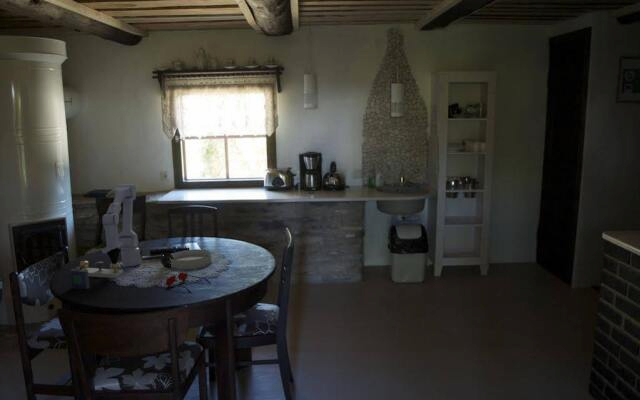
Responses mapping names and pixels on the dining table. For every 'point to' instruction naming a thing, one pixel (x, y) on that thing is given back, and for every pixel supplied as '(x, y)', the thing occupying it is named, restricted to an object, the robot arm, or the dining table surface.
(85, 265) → the brass knob
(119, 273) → the mount board
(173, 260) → the dish
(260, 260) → the dining table surface
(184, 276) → the glasses
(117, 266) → the brass knob
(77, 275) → the flask
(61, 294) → the dining table surface
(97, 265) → the graphite knob
